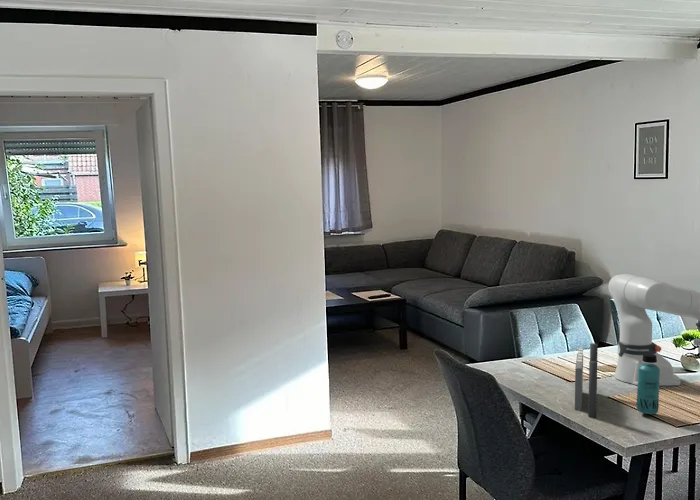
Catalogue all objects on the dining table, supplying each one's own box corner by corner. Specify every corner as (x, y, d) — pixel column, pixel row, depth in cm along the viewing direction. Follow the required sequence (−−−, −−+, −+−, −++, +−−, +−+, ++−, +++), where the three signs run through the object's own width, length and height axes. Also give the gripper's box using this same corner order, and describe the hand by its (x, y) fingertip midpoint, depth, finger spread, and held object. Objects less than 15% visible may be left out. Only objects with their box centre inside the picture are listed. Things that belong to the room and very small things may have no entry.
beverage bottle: (632, 411, 204) (633, 352, 202) (651, 410, 205) (653, 351, 202) (643, 419, 198) (645, 357, 195) (663, 418, 198) (665, 356, 196)
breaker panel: (582, 392, 223) (583, 347, 221) (581, 410, 207) (582, 362, 205) (576, 391, 224) (577, 347, 222) (574, 409, 207) (575, 361, 205)
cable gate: (596, 392, 222) (597, 343, 220) (596, 418, 200) (597, 363, 197) (589, 392, 223) (590, 343, 221) (588, 417, 200) (589, 362, 198)
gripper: (755, 369, 179) (700, 365, 184) (740, 350, 198) (690, 347, 203) (756, 348, 178) (701, 344, 183) (741, 331, 197) (691, 328, 202)
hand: (695, 345), depth 193 cm, fingers open, 8 cm apart
